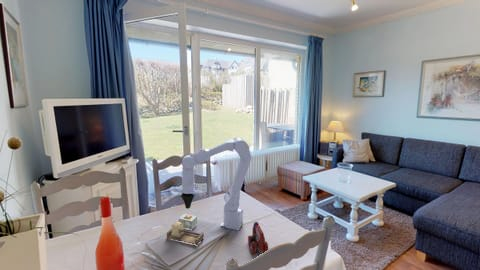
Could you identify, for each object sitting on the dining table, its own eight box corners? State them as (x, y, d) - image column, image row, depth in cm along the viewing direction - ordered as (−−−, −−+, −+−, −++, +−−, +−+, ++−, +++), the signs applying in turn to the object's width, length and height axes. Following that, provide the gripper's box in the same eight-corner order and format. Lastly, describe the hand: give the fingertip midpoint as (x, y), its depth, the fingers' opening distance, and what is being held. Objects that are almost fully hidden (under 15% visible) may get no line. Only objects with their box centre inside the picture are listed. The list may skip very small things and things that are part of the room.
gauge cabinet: (196, 225, 114) (196, 216, 113) (191, 231, 109) (191, 221, 108) (184, 222, 116) (184, 213, 115) (178, 228, 111) (178, 218, 110)
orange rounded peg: (191, 221, 113) (191, 215, 112) (188, 224, 110) (188, 218, 110) (187, 220, 113) (187, 214, 113) (184, 223, 111) (184, 217, 111)
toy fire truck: (261, 238, 106) (262, 217, 104) (269, 256, 94) (270, 233, 92) (246, 239, 104) (247, 218, 103) (252, 258, 92) (254, 234, 91)
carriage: (184, 234, 104) (184, 223, 103) (179, 238, 100) (179, 227, 99) (175, 231, 105) (175, 220, 104) (170, 236, 102) (170, 224, 101)
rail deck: (203, 238, 103) (203, 232, 103) (197, 246, 98) (197, 240, 97) (174, 231, 108) (174, 225, 107) (166, 239, 102) (166, 232, 101)
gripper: (206, 180, 110) (205, 206, 112) (179, 176, 115) (179, 201, 117) (199, 185, 104) (198, 213, 106) (171, 180, 108) (171, 207, 110)
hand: (188, 207), depth 111 cm, fingers closed
